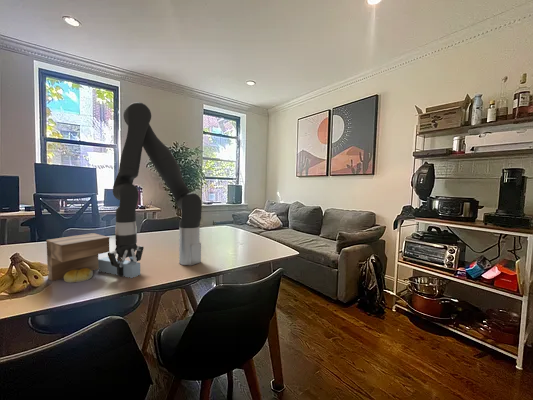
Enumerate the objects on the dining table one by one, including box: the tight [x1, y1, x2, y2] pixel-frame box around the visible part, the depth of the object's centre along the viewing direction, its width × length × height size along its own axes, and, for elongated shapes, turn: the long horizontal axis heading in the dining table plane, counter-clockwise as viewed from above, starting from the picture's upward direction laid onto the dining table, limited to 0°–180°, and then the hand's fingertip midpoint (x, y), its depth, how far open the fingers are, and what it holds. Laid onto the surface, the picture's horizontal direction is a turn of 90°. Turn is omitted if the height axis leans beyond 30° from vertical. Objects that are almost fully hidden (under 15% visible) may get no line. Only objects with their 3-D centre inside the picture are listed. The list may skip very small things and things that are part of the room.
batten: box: [98, 256, 141, 279], centre depth 103 cm, size 19×4×5 cm, turn 69°
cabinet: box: [45, 232, 110, 282], centre depth 99 cm, size 13×16×15 cm
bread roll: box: [63, 268, 94, 284], centre depth 96 cm, size 8×9×4 cm
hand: (126, 273), depth 102 cm, fingers closed on batten, 4 cm apart
